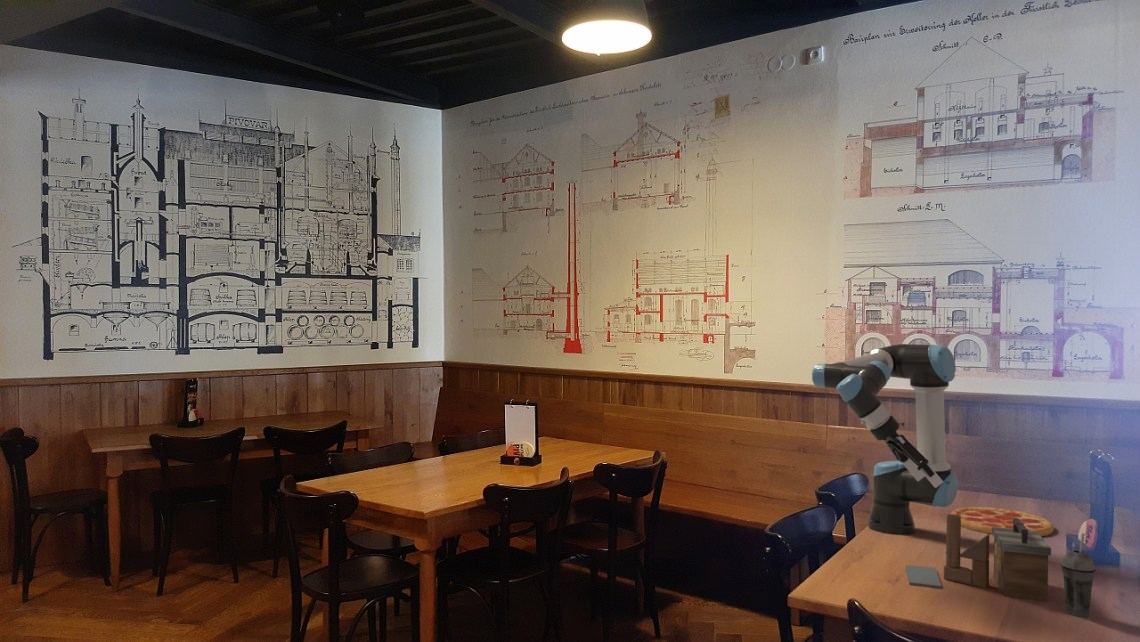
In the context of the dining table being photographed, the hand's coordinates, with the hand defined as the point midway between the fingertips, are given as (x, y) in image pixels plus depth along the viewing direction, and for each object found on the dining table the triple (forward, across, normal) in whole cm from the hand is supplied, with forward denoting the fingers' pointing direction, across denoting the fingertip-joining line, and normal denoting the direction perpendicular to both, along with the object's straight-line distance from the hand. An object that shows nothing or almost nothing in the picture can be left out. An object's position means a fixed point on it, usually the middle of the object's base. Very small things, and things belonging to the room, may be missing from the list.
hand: (930, 481), depth 218 cm
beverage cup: (+40, +22, +2) cm, 45 cm away
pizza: (+46, -62, +21) cm, 80 cm away
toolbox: (+35, +5, -1) cm, 35 cm away
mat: (+20, -1, -19) cm, 27 cm away
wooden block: (+27, +1, -11) cm, 29 cm away
